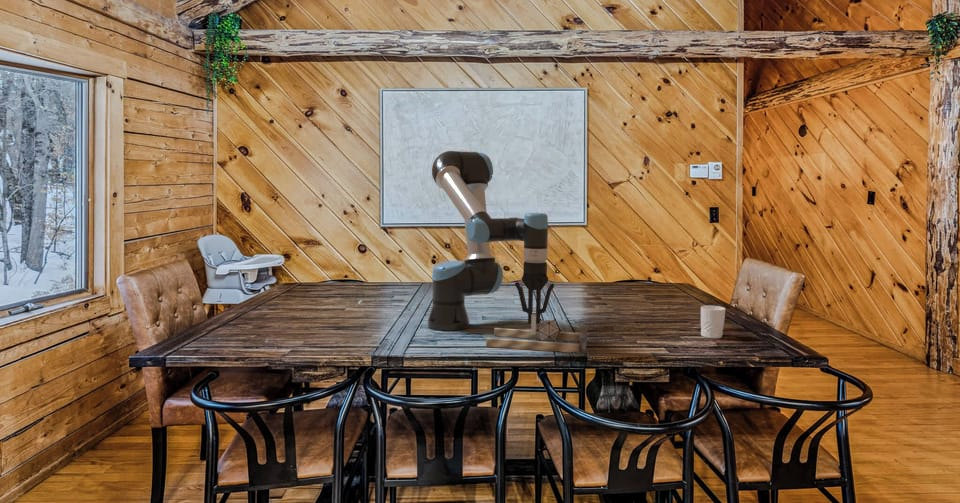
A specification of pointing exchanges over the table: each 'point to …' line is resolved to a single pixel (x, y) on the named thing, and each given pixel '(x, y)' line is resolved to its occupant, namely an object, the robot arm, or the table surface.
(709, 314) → the white cup
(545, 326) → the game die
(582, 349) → the guide channel
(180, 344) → the table surface
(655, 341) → the table surface
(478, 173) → the robot arm
